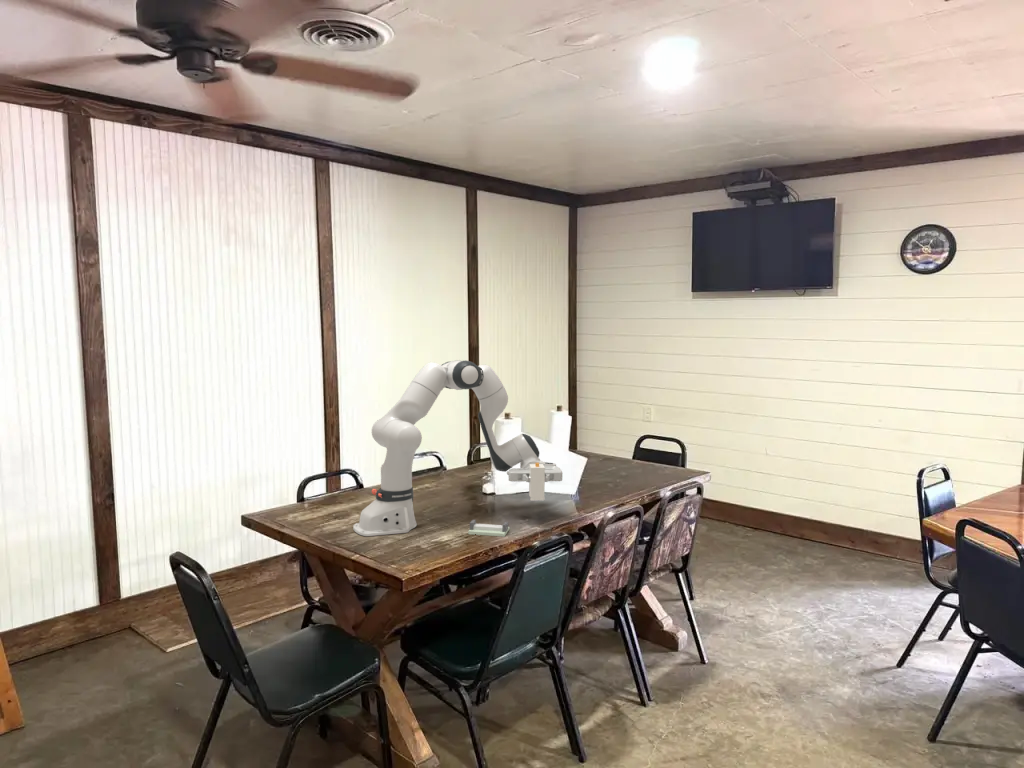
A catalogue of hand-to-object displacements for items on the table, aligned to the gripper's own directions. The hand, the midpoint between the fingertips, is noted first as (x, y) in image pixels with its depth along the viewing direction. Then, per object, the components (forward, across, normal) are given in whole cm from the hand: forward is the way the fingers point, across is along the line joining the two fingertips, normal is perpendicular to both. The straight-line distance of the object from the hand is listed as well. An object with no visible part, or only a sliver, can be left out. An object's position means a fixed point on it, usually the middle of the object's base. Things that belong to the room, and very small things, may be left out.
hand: (537, 479), depth 253 cm
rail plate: (+8, -18, +17) cm, 26 cm away
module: (-1, 0, +7) cm, 7 cm away
